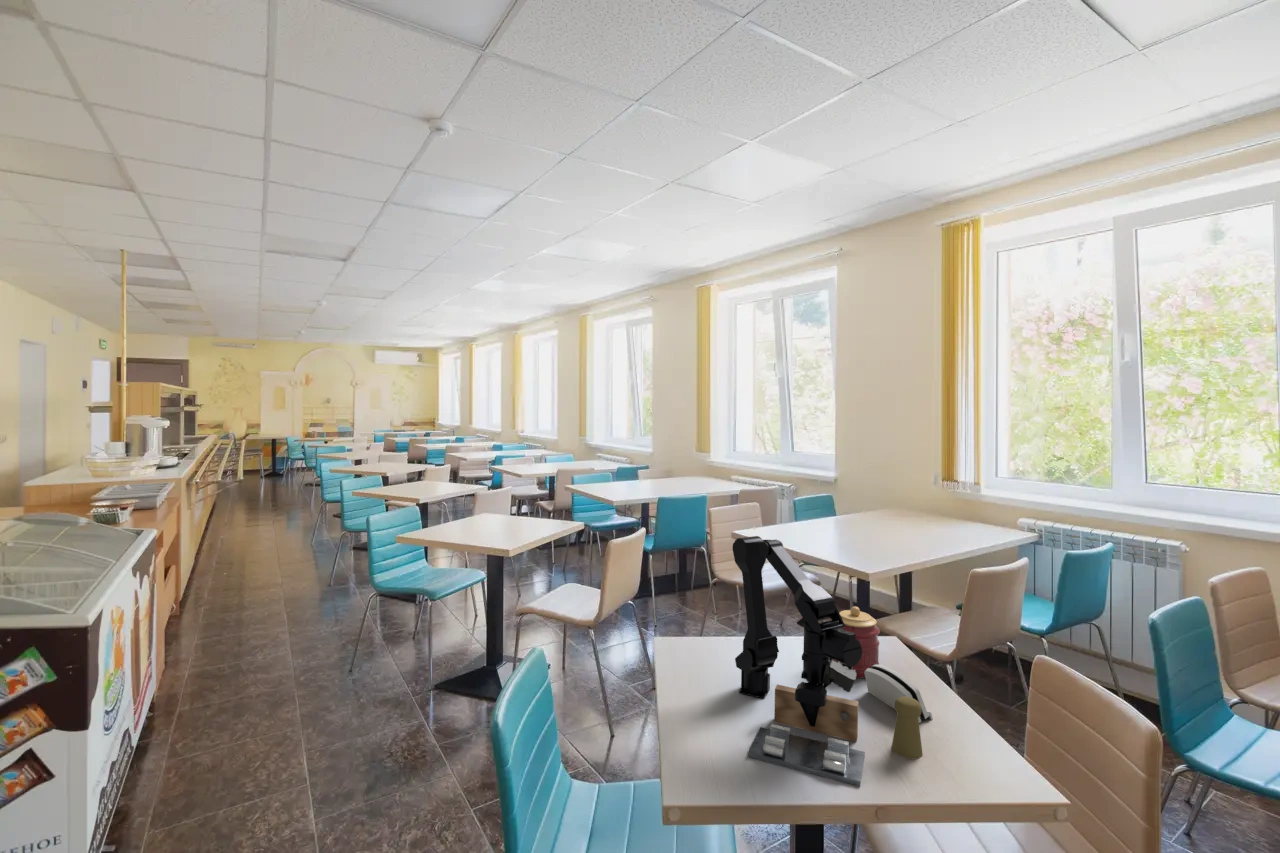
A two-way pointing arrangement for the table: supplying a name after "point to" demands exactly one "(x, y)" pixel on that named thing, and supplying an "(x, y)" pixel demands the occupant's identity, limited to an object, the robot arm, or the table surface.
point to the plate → (808, 754)
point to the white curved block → (892, 687)
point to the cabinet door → (831, 718)
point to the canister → (862, 637)
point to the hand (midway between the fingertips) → (815, 717)
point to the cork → (907, 728)
